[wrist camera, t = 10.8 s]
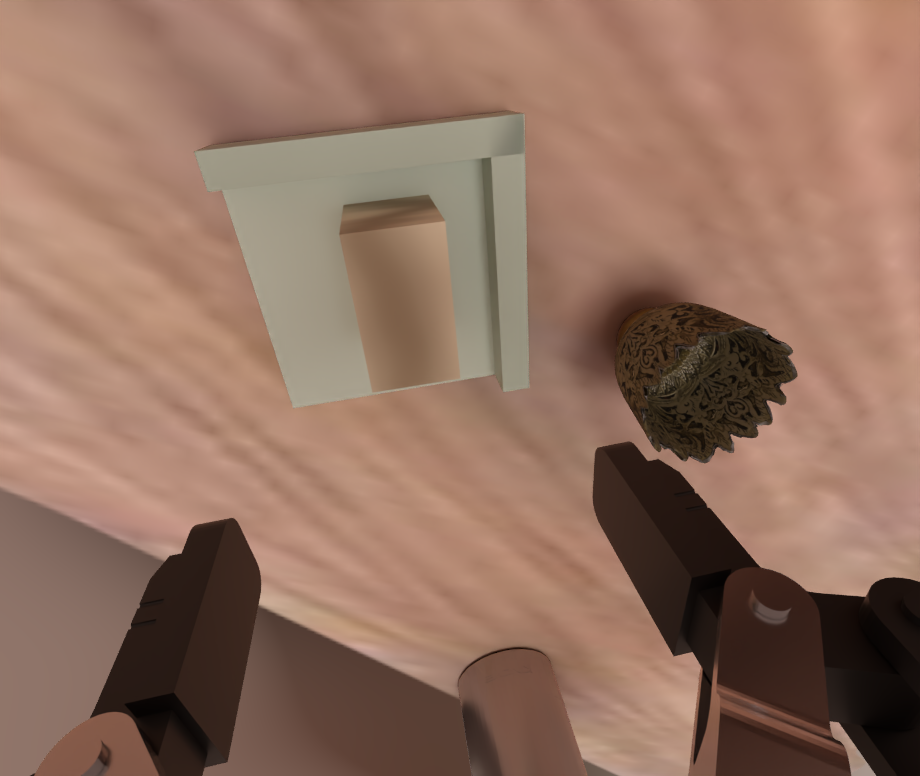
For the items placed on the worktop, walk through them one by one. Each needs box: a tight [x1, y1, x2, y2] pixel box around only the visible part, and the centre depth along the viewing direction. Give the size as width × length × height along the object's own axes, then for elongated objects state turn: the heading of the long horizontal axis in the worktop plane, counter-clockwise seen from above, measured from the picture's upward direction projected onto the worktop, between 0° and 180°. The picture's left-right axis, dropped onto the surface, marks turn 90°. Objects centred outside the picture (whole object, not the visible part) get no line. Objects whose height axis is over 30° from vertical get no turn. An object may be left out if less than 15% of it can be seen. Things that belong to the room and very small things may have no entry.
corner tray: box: [194, 111, 529, 408], centre depth 24 cm, size 14×13×2 cm
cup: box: [615, 303, 797, 463], centre depth 27 cm, size 8×7×8 cm
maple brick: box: [339, 195, 460, 393], centre depth 23 cm, size 4×7×6 cm, turn 4°
